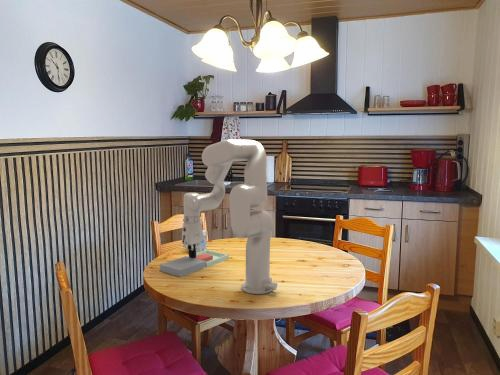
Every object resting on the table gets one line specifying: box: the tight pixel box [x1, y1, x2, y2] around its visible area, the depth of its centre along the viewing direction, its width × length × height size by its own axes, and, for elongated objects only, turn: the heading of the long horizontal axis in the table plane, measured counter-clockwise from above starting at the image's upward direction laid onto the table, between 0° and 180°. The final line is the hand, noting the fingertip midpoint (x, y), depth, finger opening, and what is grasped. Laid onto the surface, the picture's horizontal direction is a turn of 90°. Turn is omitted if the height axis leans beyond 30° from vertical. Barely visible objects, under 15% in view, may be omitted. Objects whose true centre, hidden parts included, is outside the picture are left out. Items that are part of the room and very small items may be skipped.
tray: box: [186, 249, 230, 268], centre depth 191 cm, size 15×16×2 cm
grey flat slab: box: [159, 255, 207, 278], centre depth 177 cm, size 13×16×3 cm
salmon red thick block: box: [195, 253, 213, 262], centre depth 188 cm, size 6×9×2 cm, turn 144°
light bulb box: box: [196, 229, 208, 253], centre depth 205 cm, size 11×7×11 cm, turn 168°
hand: (192, 257), depth 182 cm, fingers closed
